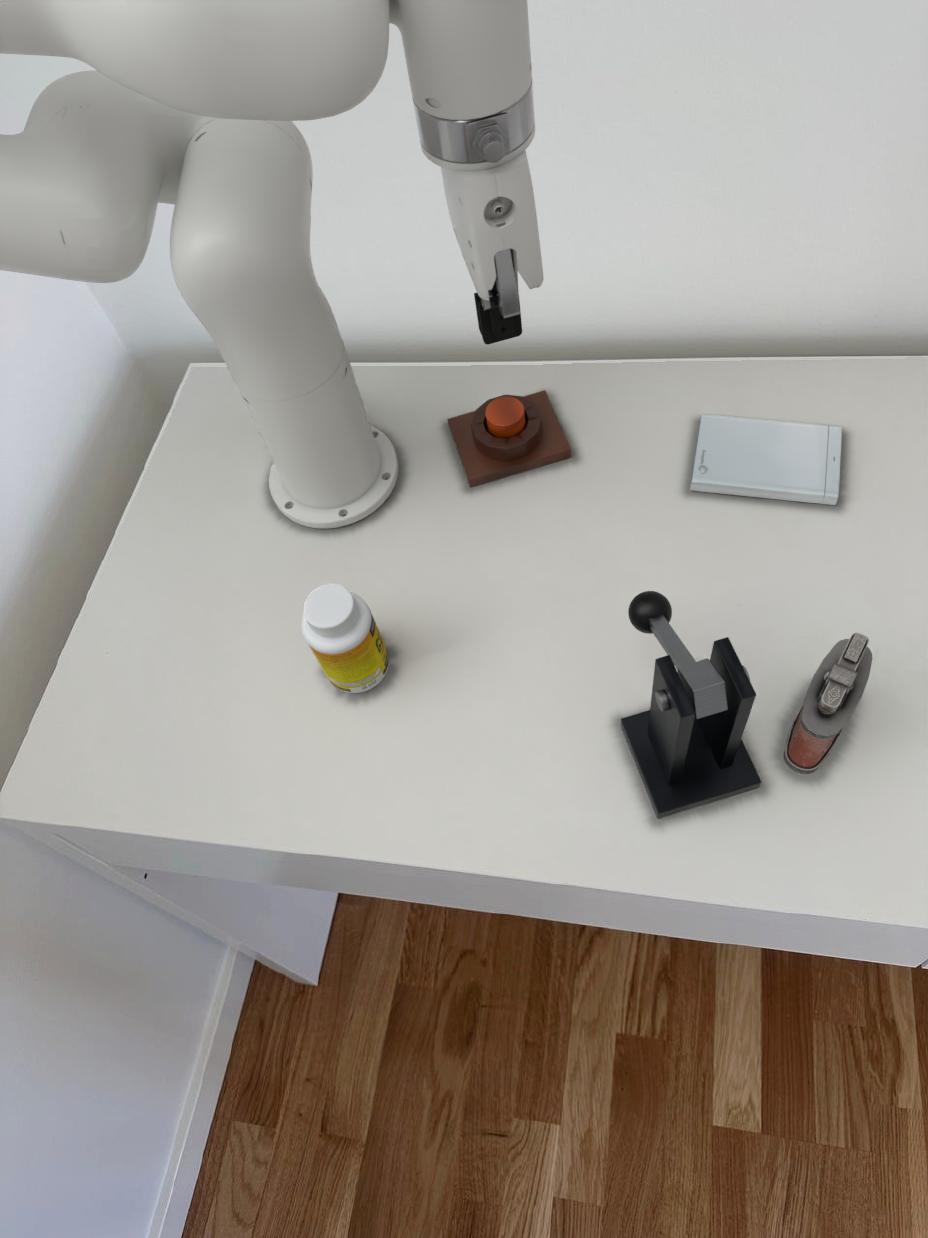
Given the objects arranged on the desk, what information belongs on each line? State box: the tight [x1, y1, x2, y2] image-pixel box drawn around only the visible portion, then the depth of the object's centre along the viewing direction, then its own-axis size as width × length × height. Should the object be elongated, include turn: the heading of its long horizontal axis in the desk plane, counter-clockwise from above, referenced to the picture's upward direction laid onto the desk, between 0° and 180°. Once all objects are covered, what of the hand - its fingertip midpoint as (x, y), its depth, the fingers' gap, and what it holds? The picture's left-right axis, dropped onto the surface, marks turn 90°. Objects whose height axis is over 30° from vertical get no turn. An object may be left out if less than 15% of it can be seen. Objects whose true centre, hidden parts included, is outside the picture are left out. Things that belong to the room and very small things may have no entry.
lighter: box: [783, 632, 873, 775], centre depth 66 cm, size 8×3×10 cm, turn 148°
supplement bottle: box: [300, 583, 390, 694], centre depth 74 cm, size 6×6×10 cm
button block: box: [446, 389, 572, 488], centre depth 87 cm, size 10×8×3 cm
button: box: [485, 397, 525, 438], centre depth 85 cm, size 4×4×2 cm
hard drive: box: [689, 412, 843, 506], centre depth 82 cm, size 2×8×12 cm
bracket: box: [620, 636, 762, 820], centre depth 64 cm, size 8×8×14 cm
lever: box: [627, 590, 728, 719], centre depth 64 cm, size 13×3×3 cm, turn 15°
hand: (500, 333), depth 74 cm, fingers closed
